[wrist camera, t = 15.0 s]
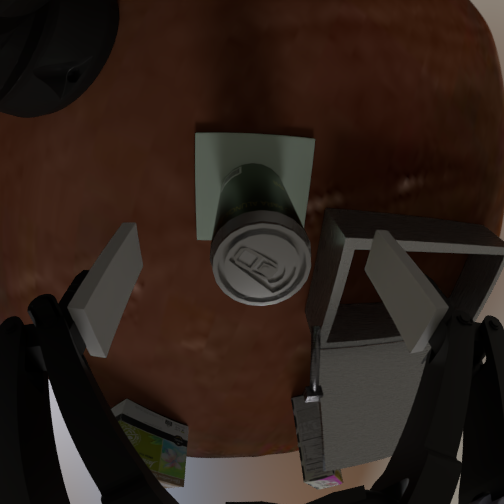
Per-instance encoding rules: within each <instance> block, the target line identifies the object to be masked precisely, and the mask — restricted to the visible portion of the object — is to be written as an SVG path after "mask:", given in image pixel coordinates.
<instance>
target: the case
mask: <svg viewBox="0 0 504 504" xmlns="http://www.w3.org/2000/svg"><path fill="white" fill-rule="evenodd" d="M376 230H387V231H388V232H389V233H390V234H391V235H392V237H393V238H394V239H395V240H396V241H397V242H398V243H399V245H400V246H401V247H402V248H403V249H404V250H405V251H416V252H442V253H468V254H469V256H468V258H467V261H466V263H465V266H464V268H463V270H462V272H461V275H460V277H459V279H458V281H457V283H456V286H455V288H454V290H453V292H452V294H451V296H450V298H447V299H448V301H449V302H450V303H451V305H452V306H453V308H454V309H455V310H461V311H464V312H466V313H467V314H469V315H470V316H471V318H472V319H473V321H474V322H475V321H476V319H477V317H478V316H479V314H480V312H481V310H482V309H483V307H484V305H485V303H486V301H487V299H488V297H489V296H490V294H491V292H492V290H493V288H494V285H495V284H496V282H497V280H498V278H499V276H500V274H501V271H502V269H503V267H504V241H503V240H501V239H500V238H499V237H498V236H497V235H495V234H494V233H493V232H492V231H490V230H489V229H488V228H487V227H485V226H484V225H478V224H471V223H464V222H457V221H450V220H442V219H434V218H426V217H417V216H409V215H399V214H390V213H379V212H368V211H357V210H344V209H331V208H325V213H324V219H323V225H322V230H321V236H320V241H319V246H318V252H317V257H316V262H315V267H314V272H313V276H312V281H311V286H310V290H309V295H308V299H307V304H306V308H305V314H306V318H307V322H308V325H309V329H310V333H311V367H310V386H308V387H305V390H304V392H303V394H304V400H305V403H306V402H317V401H318V402H319V414H320V426H321V440H322V456H323V471H331V470H337V469H342V468H347V467H352V466H356V465H360V464H365V463H369V462H372V461H376V460H380V459H383V458H387V457H390V456H392V455H393V453H394V451H395V448H396V446H397V444H398V441H399V439H400V437H401V434H402V432H403V429H404V427H405V424H406V422H407V419H408V416H409V414H410V411H411V408H412V405H413V402H414V399H415V396H416V393H417V390H418V387H419V384H420V380H421V377H422V373H423V370H424V366H425V362H426V361H424V363H423V364H421V362H422V360H423V359H424V357H425V356H426V355H427V353H428V352H429V350H430V349H431V346H430V344H429V342H428V343H427V345H426V346H425V348H424V350H423V351H421V352H416V353H410V352H409V350H408V348H407V346H406V344H405V342H404V340H403V338H402V336H401V334H400V332H399V331H398V329H397V327H396V325H395V323H394V321H393V319H392V317H391V316H390V314H389V312H388V310H387V308H386V307H385V305H384V303H363V304H339V303H340V300H341V296H342V293H343V290H344V286H345V283H346V279H347V276H348V272H349V269H350V265H351V261H352V258H353V254H354V250H355V249H358V250H370V249H371V246H372V243H373V239H374V235H375V232H376ZM400 341H403V342H400ZM393 342H396V343H393ZM385 343H389V344H385ZM377 344H381V345H377ZM368 345H372V346H368ZM358 346H363V347H358ZM347 347H352V348H347ZM334 348H340V349H334ZM320 349H327V350H320Z"/></svg>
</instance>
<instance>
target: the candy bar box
mask: <svg viewBox="0 0 504 504" xmlns="http://www.w3.org/2000/svg"><path fill="white" fill-rule="evenodd" d="M291 401H292V407H293V414H294V420H295V427H296V433H297V440H298V447H299V453H300V460H301V466H302V473H303V480H304V482H305V483H307V484H308V485H310V486H312V487H314V488H316V489H323V488H328V487H332V486H334V485H335V486H336V485H339V484H342V483H343V479H342V474H341V470H340V469H337V470H331V471H323V456H322V440H321V426H320V414H319V402H318V401H317V402H306V403H305V400H304V395H300V396H297V397H293V398H291Z"/></svg>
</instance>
